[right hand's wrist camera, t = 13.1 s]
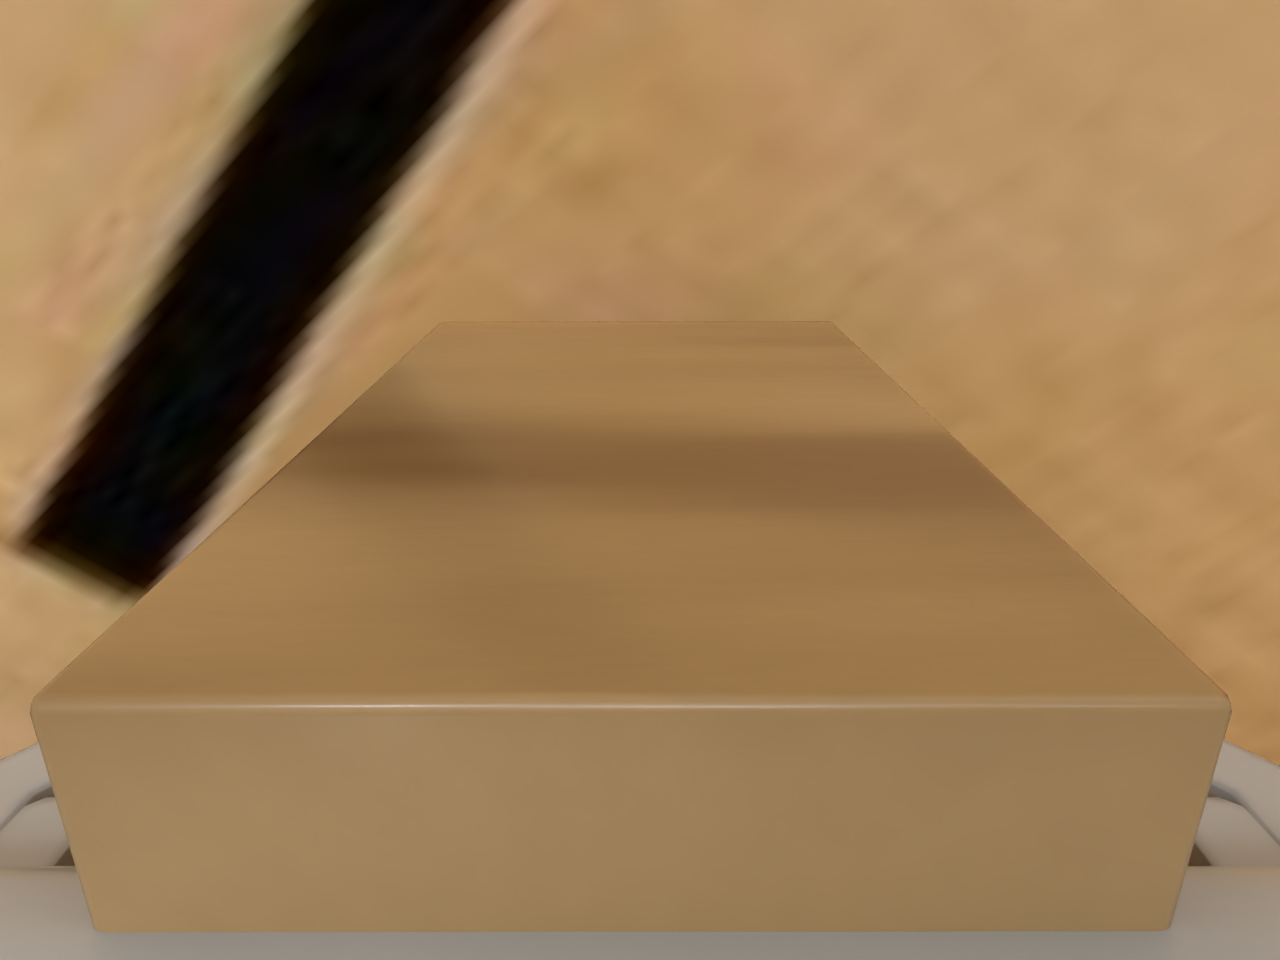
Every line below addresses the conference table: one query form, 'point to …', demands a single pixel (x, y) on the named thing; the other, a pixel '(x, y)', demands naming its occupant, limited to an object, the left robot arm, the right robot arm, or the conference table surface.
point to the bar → (632, 669)
